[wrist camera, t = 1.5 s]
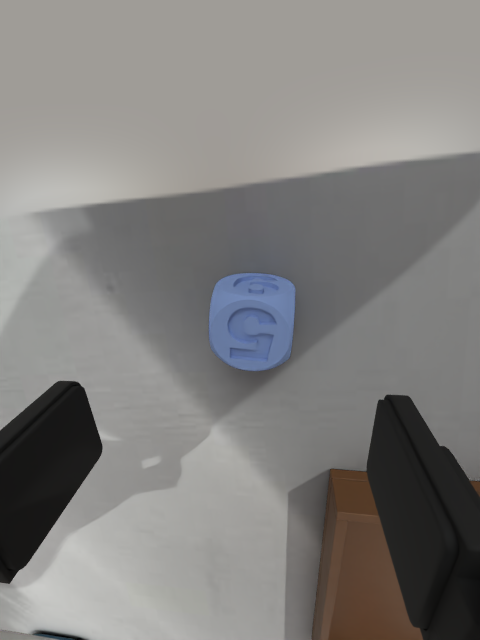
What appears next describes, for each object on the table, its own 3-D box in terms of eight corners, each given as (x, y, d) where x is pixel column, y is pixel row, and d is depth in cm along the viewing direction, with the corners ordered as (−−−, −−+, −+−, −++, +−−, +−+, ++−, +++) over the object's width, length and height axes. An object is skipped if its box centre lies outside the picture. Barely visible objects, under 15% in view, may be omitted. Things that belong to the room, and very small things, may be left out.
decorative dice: (224, 332, 19) (209, 368, 15) (223, 270, 17) (207, 294, 13) (288, 337, 18) (288, 375, 15) (294, 274, 17) (296, 300, 13)
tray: (330, 468, 22) (337, 512, 19) (603, 491, 20) (659, 546, 17) (311, 637, 34) (313, 681, 31) (482, 666, 31) (503, 717, 28)
